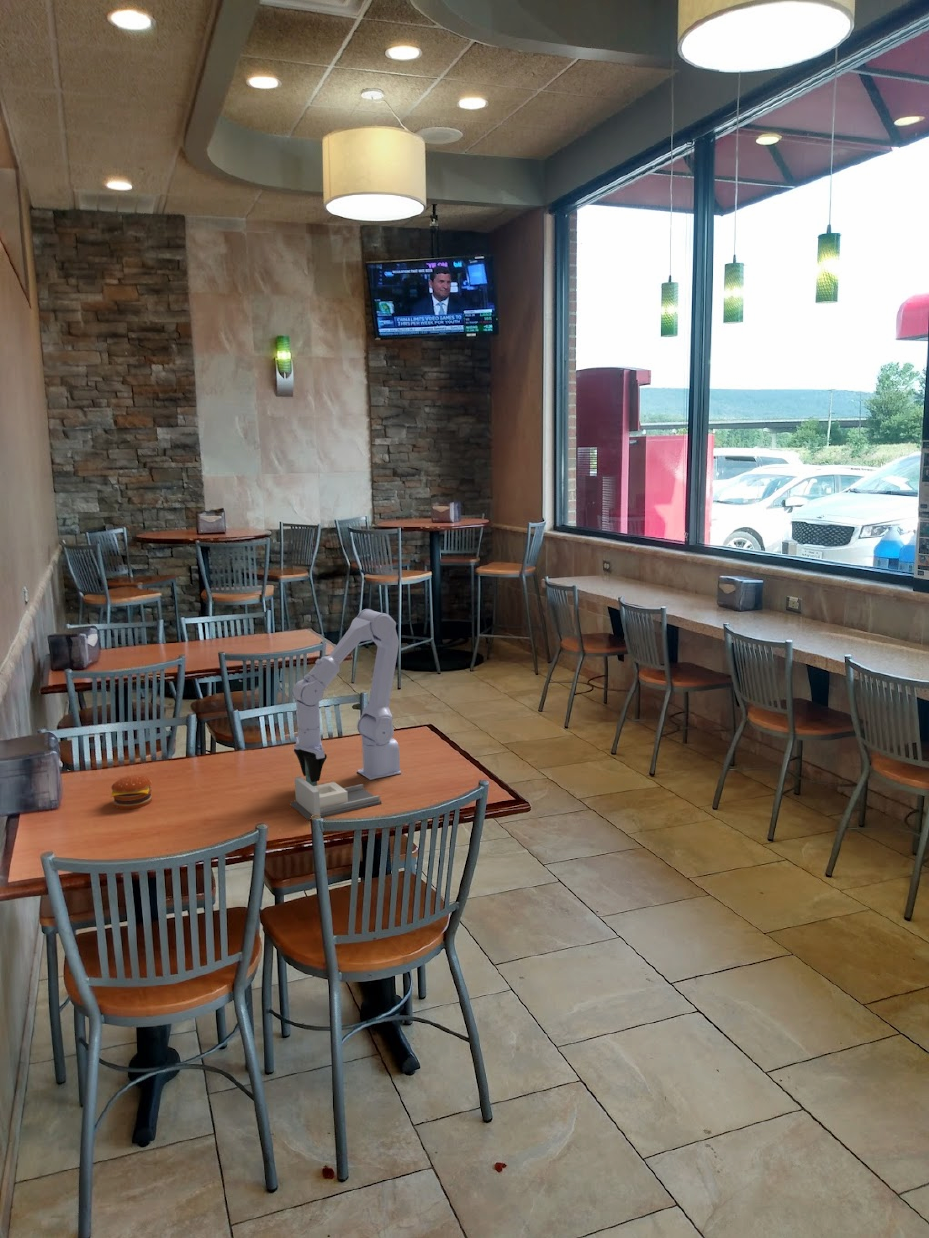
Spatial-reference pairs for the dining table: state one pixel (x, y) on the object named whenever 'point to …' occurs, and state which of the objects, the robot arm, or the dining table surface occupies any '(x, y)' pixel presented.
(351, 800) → the base
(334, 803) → the sliding block
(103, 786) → the dining table surface
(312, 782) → the dowel
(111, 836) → the dining table surface
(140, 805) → the hamburger
